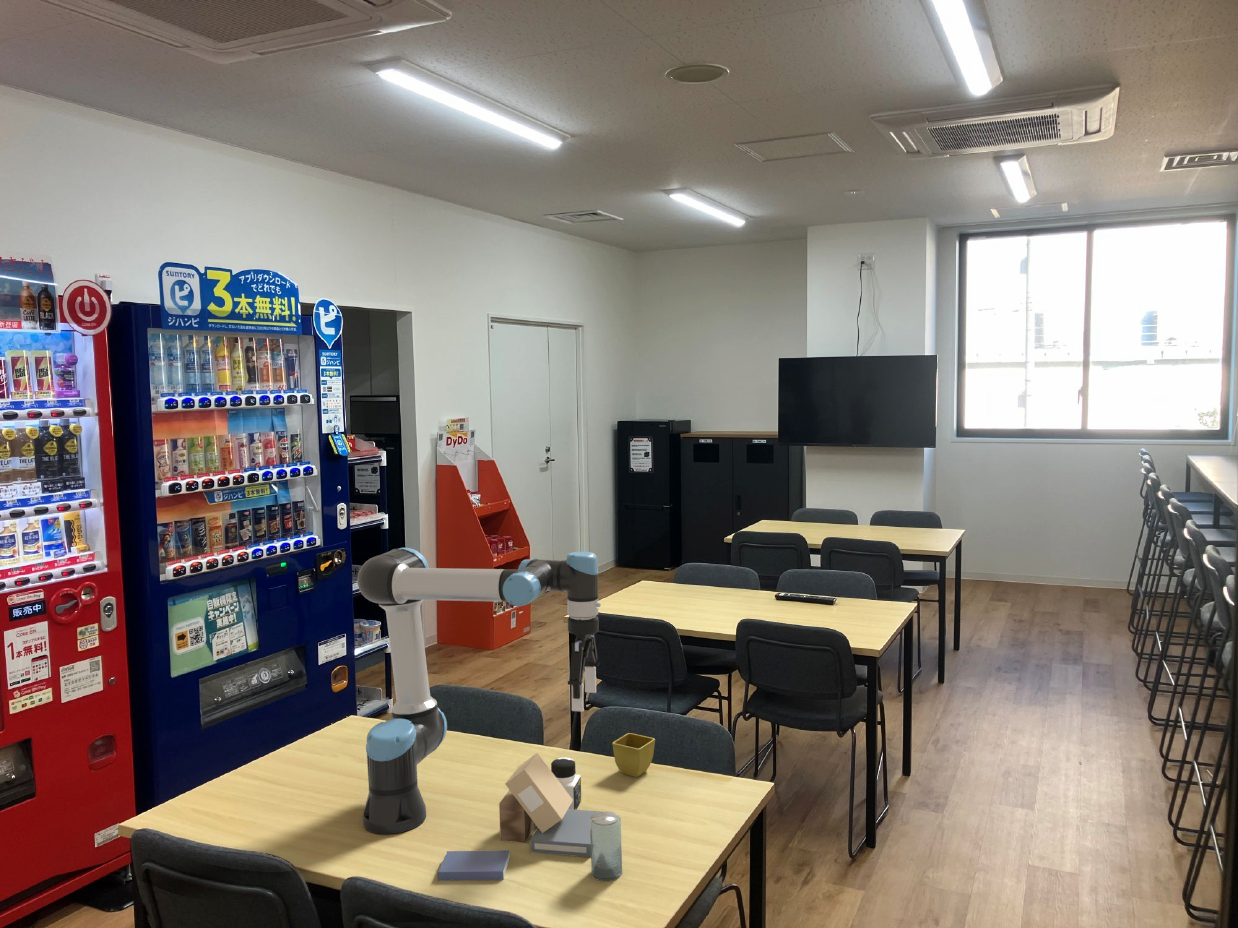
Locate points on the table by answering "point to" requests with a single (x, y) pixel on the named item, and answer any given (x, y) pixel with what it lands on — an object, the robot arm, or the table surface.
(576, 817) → the podium
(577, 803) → the medicine bottle
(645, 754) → the flower pot
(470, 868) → the notebook
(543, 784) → the carton
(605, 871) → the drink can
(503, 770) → the table surface
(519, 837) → the rest block
